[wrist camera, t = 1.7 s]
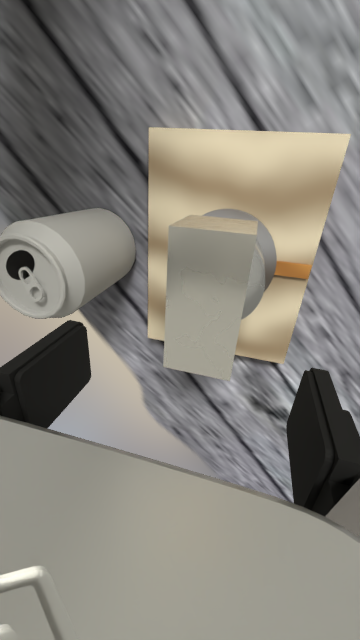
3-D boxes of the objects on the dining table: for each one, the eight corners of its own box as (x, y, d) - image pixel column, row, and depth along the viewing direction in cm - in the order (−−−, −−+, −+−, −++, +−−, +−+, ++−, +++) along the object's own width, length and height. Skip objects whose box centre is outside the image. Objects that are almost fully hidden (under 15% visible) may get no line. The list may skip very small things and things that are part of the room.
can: (109, 191, 27) (14, 198, 16) (152, 257, 29) (92, 301, 18) (62, 232, 30) (-42, 260, 20) (103, 289, 32) (29, 342, 22)
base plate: (154, 130, 23) (144, 125, 21) (345, 136, 20) (355, 131, 18) (152, 331, 33) (144, 342, 31) (282, 356, 30) (284, 369, 28)
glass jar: (188, 206, 23) (144, 223, 14) (275, 214, 21) (285, 237, 13) (180, 315, 28) (144, 376, 19) (251, 327, 26) (247, 399, 18)
